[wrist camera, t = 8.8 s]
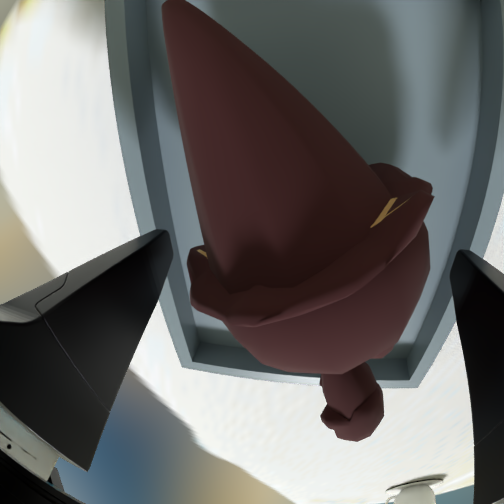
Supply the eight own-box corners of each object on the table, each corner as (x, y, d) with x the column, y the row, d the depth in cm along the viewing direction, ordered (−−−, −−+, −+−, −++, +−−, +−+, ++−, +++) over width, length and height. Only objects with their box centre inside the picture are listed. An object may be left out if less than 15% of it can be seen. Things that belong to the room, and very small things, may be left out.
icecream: (5, 113, 5) (267, 447, 11) (192, -146, 1) (446, 467, 7) (164, 57, 10) (320, 330, 16) (326, -46, 6) (460, 317, 11)
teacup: (451, 473, 30) (452, 499, 26) (431, 488, 36) (430, 509, 32) (393, 482, 33) (392, 509, 29) (379, 494, 38) (378, 516, 34)
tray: (488, -13, 5) (514, -21, 4) (413, 360, 16) (417, 387, 14) (133, -23, 8) (104, -31, 6) (192, 341, 19) (182, 367, 17)
